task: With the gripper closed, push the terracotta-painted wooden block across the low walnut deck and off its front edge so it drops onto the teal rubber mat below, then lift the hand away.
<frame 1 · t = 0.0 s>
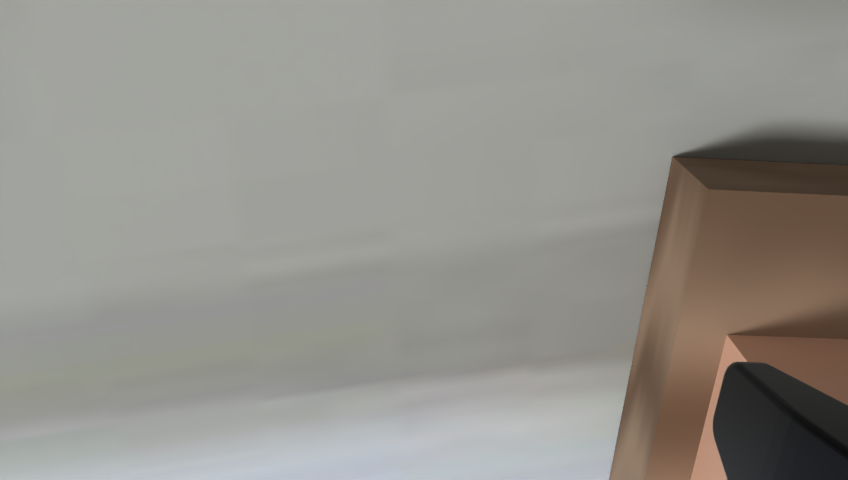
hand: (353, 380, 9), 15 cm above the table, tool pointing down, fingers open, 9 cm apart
terracotta block: (795, 433, 24), point 3 cm above the table, touching walnut deck
walnut deck: (768, 380, 27), on the table
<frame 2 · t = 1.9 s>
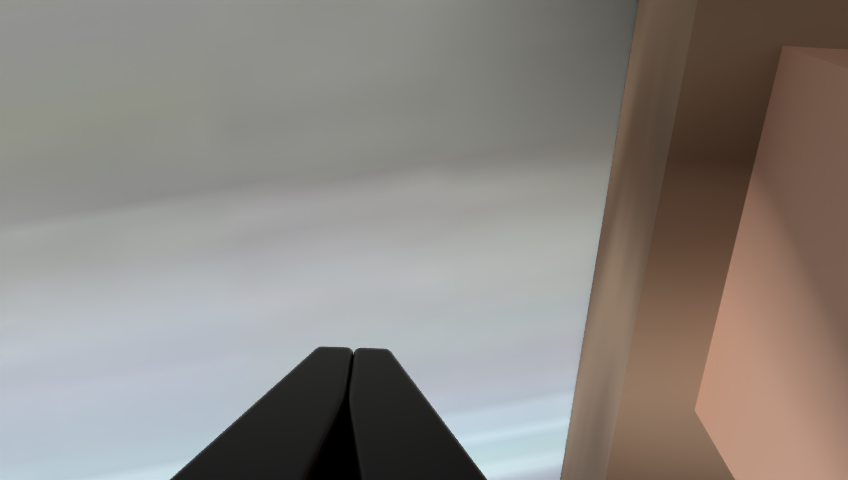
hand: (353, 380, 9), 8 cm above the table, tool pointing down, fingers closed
walnut deck: (837, 197, 16), on the table
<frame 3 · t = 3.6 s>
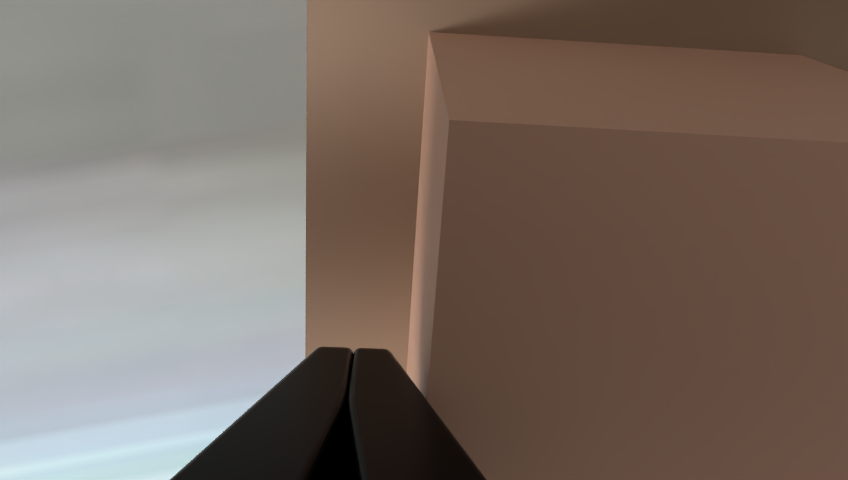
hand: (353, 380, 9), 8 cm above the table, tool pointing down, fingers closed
terracotta block: (584, 245, 13), point 3 cm above the table, touching gripper, walnut deck
walnut deck: (558, 189, 16), on the table
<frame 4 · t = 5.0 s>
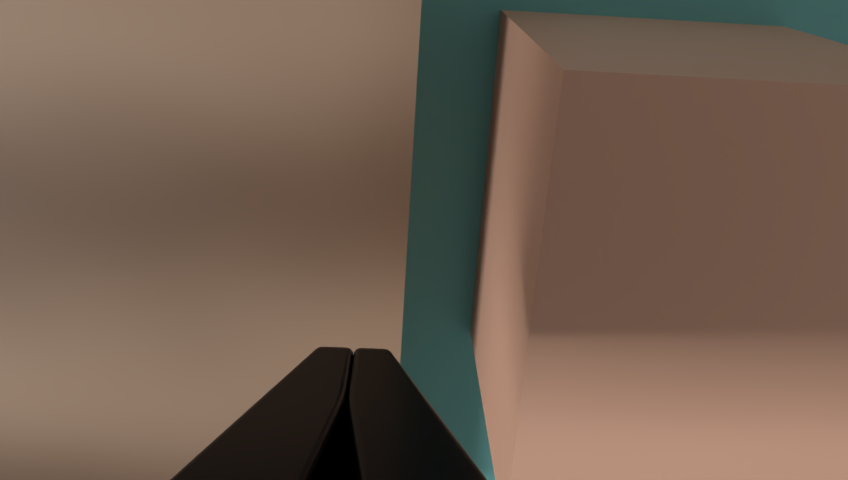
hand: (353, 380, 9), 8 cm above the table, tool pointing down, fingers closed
terracotta block: (502, 242, 13), point 3 cm above the table, tilted 90°, touching teal mat
walnut deck: (166, 170, 16), on the table
teal mat: (751, 200, 16), on the table
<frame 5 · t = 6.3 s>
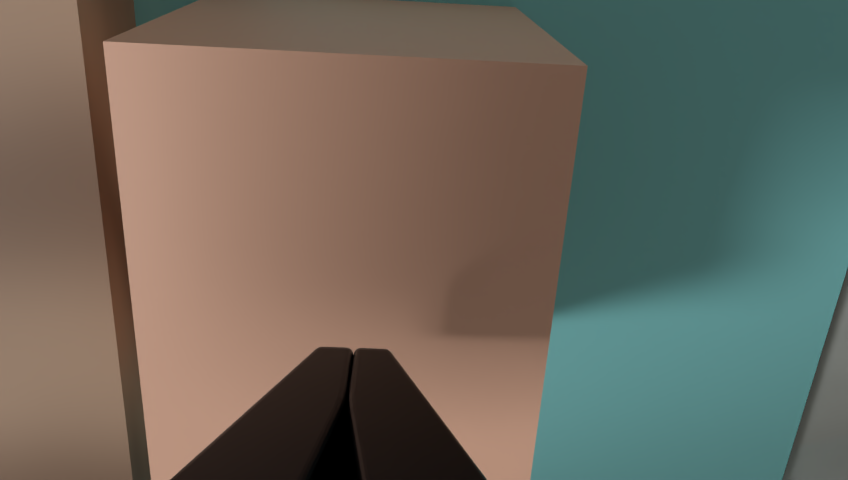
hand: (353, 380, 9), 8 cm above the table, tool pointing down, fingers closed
terracotta block: (191, 227, 13), point 3 cm above the table, tilted 90°, touching teal mat
teal mat: (513, 186, 16), on the table
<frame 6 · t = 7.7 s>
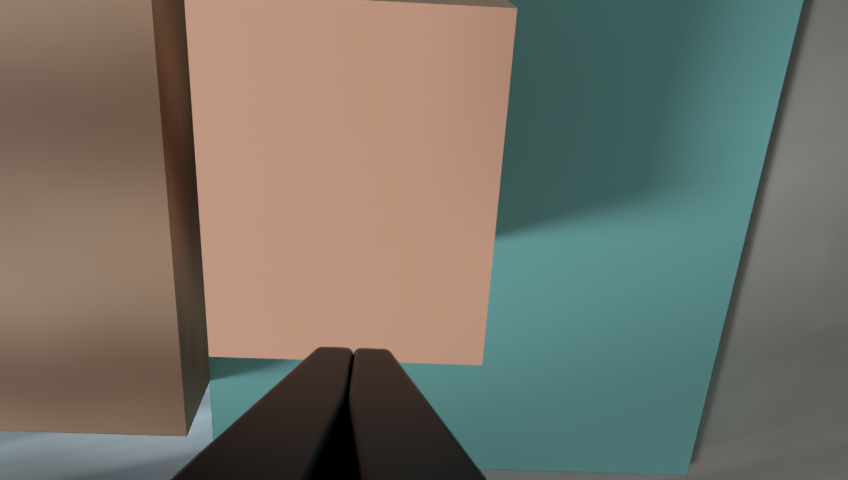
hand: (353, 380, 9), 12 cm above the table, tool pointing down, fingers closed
terracotta block: (231, 145, 17), point 3 cm above the table, tilted 90°, touching teal mat
teal mat: (484, 126, 20), on the table
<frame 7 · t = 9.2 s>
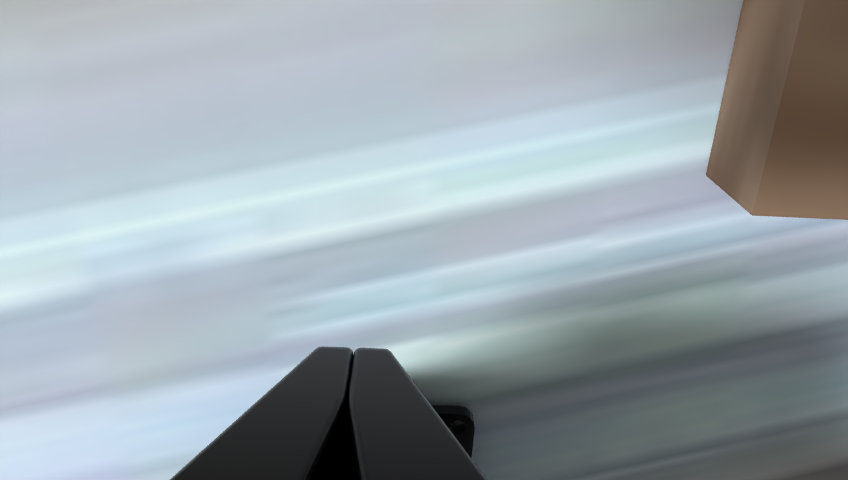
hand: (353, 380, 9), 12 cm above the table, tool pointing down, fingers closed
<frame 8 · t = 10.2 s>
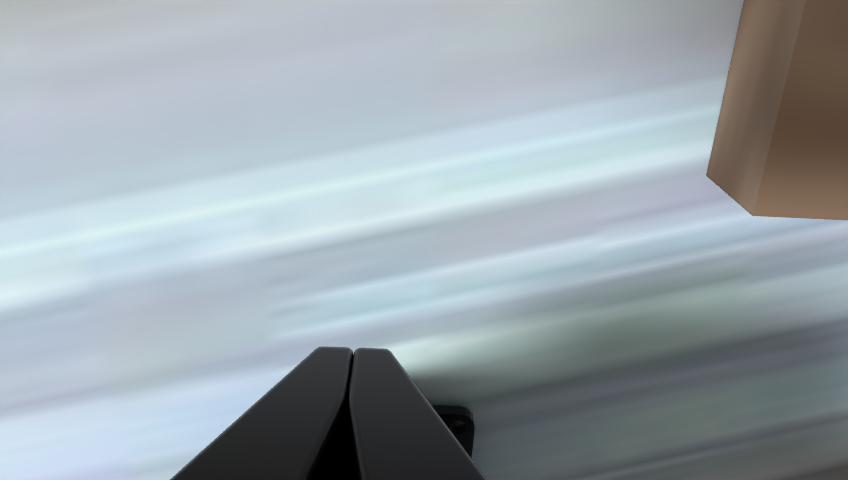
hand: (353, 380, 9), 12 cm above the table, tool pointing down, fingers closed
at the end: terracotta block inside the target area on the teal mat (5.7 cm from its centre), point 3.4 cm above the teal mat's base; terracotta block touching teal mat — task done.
